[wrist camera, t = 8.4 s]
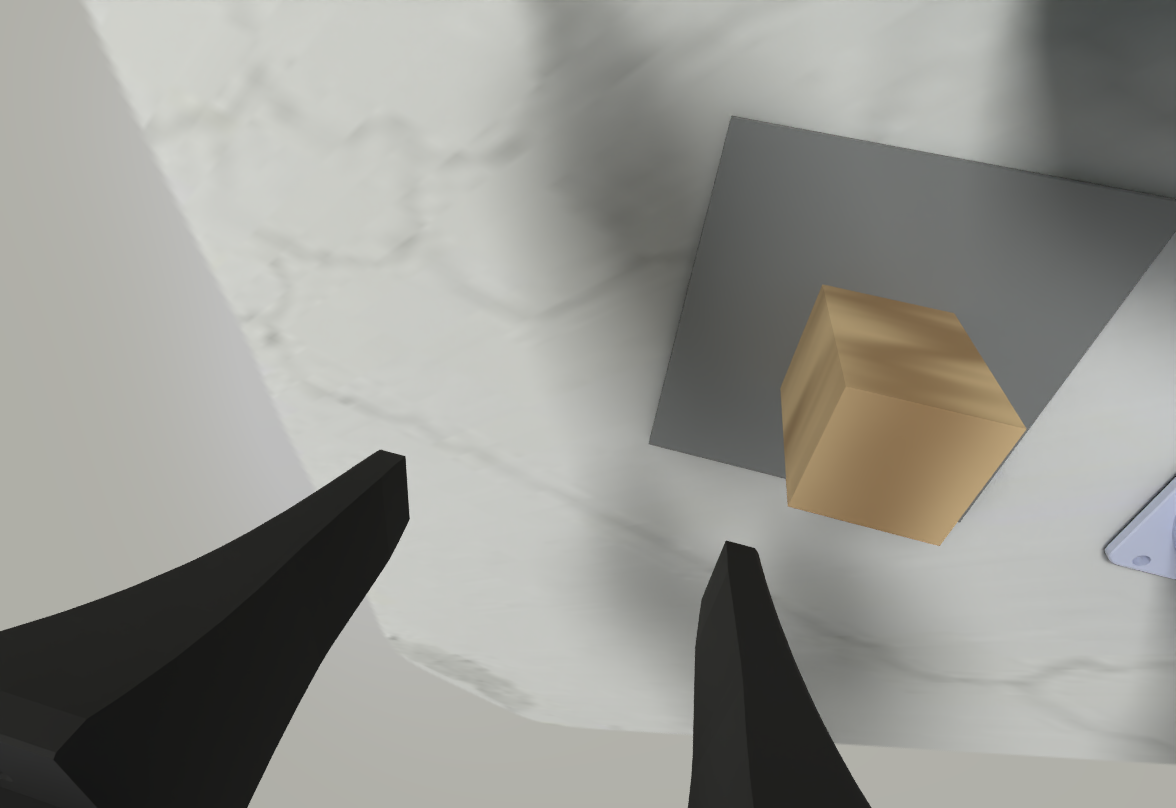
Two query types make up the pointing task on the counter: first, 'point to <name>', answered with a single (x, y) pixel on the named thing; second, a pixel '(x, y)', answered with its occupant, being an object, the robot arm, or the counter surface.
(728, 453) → the mat
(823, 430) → the oak block
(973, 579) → the counter surface
